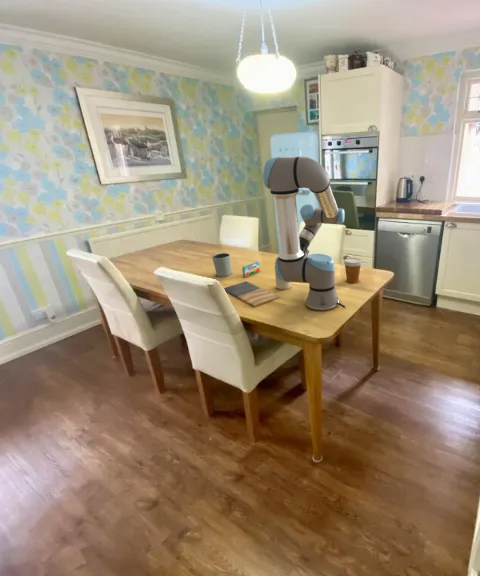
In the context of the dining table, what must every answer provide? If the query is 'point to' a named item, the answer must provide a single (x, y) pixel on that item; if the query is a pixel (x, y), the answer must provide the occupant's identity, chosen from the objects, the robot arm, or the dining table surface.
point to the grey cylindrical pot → (222, 264)
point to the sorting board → (250, 293)
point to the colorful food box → (250, 269)
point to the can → (281, 283)
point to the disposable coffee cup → (352, 269)
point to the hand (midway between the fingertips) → (284, 273)
